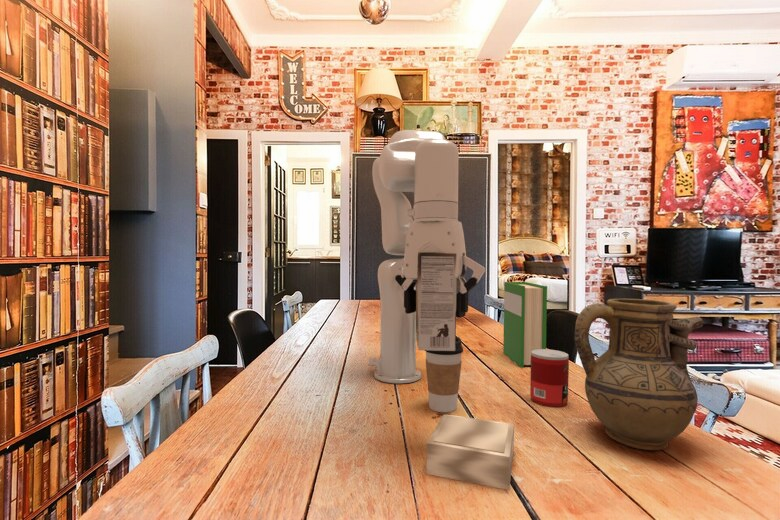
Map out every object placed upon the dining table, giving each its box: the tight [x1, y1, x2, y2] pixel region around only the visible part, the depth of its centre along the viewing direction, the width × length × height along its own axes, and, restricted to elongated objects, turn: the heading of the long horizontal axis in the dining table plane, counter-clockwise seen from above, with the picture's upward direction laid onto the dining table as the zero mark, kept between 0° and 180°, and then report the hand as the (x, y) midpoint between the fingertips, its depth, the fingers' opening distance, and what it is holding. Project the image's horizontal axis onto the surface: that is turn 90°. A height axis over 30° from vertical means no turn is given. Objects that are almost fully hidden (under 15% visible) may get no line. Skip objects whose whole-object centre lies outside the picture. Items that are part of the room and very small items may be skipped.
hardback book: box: [502, 281, 548, 369], centre depth 129 cm, size 18×7×24 cm, turn 1°
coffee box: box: [416, 252, 457, 351], centre depth 71 cm, size 9×6×16 cm
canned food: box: [529, 348, 570, 408], centre depth 93 cm, size 8×8×11 cm
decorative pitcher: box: [574, 298, 705, 451], centre depth 74 cm, size 22×18×25 cm
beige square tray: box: [425, 413, 515, 491], centre depth 66 cm, size 12×12×5 cm
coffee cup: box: [423, 336, 464, 413], centre depth 89 cm, size 8×8×15 cm
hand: (435, 314), depth 71 cm, fingers closed on coffee box, 8 cm apart
